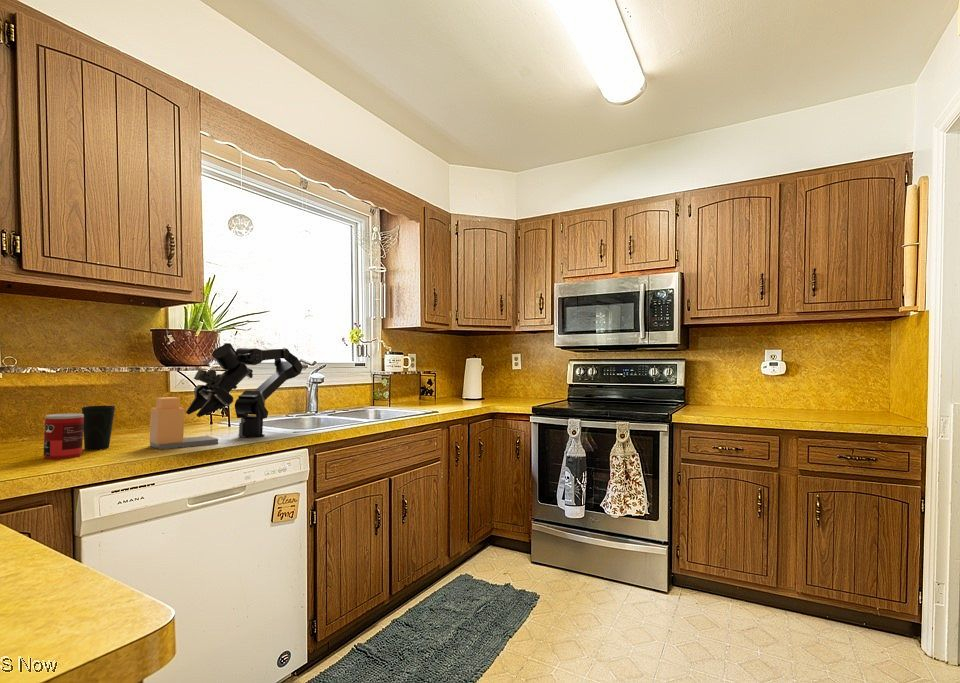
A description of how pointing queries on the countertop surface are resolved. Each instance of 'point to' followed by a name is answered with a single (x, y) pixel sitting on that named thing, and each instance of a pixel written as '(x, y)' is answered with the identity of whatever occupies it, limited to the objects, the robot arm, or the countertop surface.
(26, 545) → the countertop surface
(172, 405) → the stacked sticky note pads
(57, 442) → the canned food
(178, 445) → the board
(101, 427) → the cup
